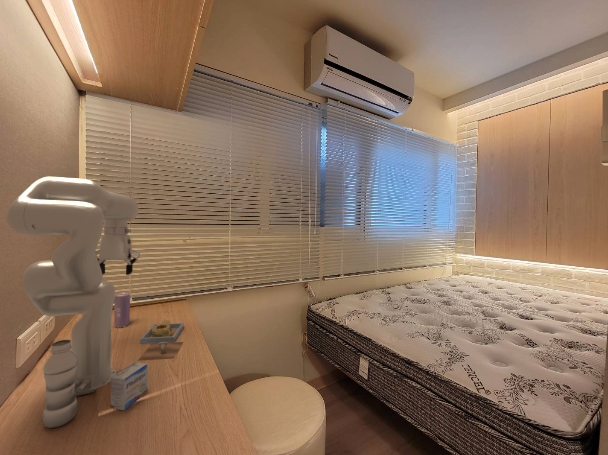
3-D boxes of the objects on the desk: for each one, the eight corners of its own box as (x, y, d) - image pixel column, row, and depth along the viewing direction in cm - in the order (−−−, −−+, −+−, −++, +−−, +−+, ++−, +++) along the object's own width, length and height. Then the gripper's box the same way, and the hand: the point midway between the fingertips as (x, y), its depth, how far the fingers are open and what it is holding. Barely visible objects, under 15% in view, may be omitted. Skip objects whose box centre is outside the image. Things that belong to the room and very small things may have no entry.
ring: (167, 340, 107) (167, 329, 107) (150, 341, 106) (150, 330, 106) (174, 329, 117) (174, 320, 117) (159, 330, 116) (159, 320, 116)
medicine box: (124, 411, 69) (124, 379, 68) (110, 408, 70) (110, 377, 69) (147, 392, 76) (148, 363, 76) (134, 390, 77) (135, 361, 77)
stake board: (174, 360, 93) (174, 347, 93) (137, 363, 91) (137, 349, 91) (183, 344, 106) (183, 332, 106) (151, 346, 104) (151, 333, 103)
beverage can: (132, 323, 125) (133, 292, 124) (122, 328, 119) (123, 296, 118) (121, 322, 125) (121, 292, 125) (110, 327, 119) (111, 295, 119)
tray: (173, 344, 105) (174, 337, 105) (139, 346, 103) (140, 338, 103) (183, 329, 120) (183, 323, 120) (154, 330, 117) (154, 324, 117)
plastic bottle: (74, 408, 69) (75, 334, 69) (80, 421, 65) (81, 342, 64) (40, 422, 64) (41, 342, 64) (44, 437, 60) (44, 352, 59)
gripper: (143, 231, 108) (143, 272, 109) (97, 230, 105) (96, 272, 106) (135, 232, 101) (134, 276, 102) (85, 231, 98) (84, 276, 98)
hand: (115, 274), depth 104 cm, fingers open, 9 cm apart
